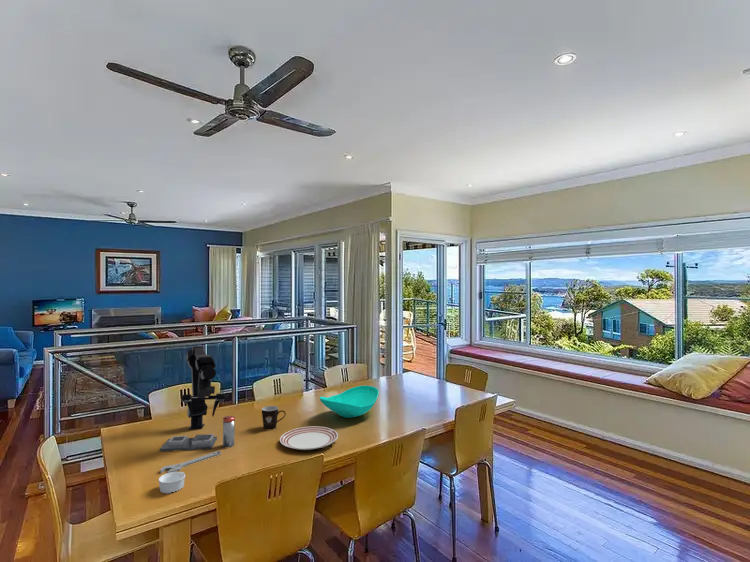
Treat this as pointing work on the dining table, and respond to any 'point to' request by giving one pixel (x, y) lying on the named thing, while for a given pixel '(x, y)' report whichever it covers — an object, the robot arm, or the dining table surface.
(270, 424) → the coffee mug
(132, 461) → the dining table surface
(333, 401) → the table top decor
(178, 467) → the adjustable wrench
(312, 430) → the dinner plate
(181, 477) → the ramekin
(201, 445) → the fitting board
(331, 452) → the dining table surface
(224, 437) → the silver and red cylinder
